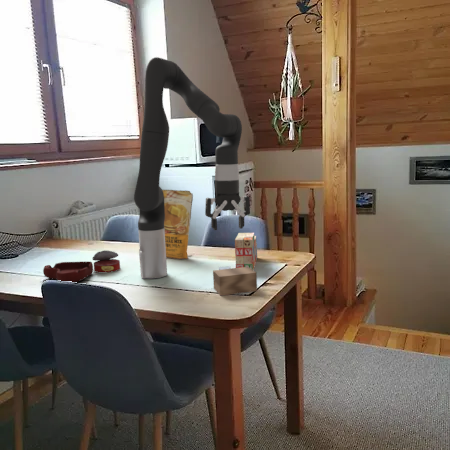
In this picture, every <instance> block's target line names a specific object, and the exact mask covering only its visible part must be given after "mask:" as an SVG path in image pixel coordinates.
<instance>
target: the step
mask: <svg viewBox="0 0 450 450" xmlns="http://www.w3.org/2000/svg"><path fill="white" fill-rule="evenodd" d="M212 275H213V277H212V278H213V289H214V290H215V291H216V293H218V295H220V296H228V295H235V294H243V293H244V294H245V293H252V292H257V291H258V283H257V282H258V281H257V279H258V277H257V271H255V270H252V269H251V268H250V267H241V268H236V267H235V268H234V267H233V268H231V269H223V270H219V269H216V270H215V269H214V270H212Z"/></svg>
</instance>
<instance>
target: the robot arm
mask: <svg viewBox="0 0 450 450" xmlns="http://www.w3.org/2000/svg"><path fill="white" fill-rule="evenodd" d="M144 77H145V78H144V107H143V108H144V109H143V120H142V127H141V136H140V137H141V138H140V150H139V168H138V174H137V175H138V176H137V181H136V185H135V189H134V194H133V200H134V203H135V206H136V207H137V208H138V210H139V218H138V221H137V229H138V230H137V231H138V247H139V249H138V253H139V267H140V269H139V270H140V276H141V279H160V278H164V277H166V276H168V266H167V265H168V264H167V257H166V246H165V230H164V221H165V205H164V194H163V191H162V190H163V189H162V187H161V186H160V179H161V178H160V177H161V176H160V175H161V171H162V167H163V163H164V161H165V158H166V154H167V150H168V145H169V140H170V139H169V137H170V125H169V120H168V117H167V115H166V111H165V107H164V103H163V101H164V99H163V98H164V90H165V89H166V90H170V91H172V92H175V93H176V94H177V95H179V96H180V97H181V98H182V100H183V101H184V103H185V105H186V106H187V108H188V109H189V110H190V111H191V112H192V113H193V114H194V115H196V116H197V117H198V118H199V119H200V120H201V121H202V123H203V124H204V125H205V127H206V128H207V129H208V131H209V132H210V133H211V134H213V135H214V136H216V137H217V138H222V141H221V142H222V143H221V144H220V145H218V146H217V147H216V148H215V153H214V154H215V157H214V158H215V167H214V168H215V169H214V170H215V171H214V179H215V181H214V183H215V185H214V186H215V187H214V188H215V196H214V197H206V198H205V208H204V209H205V210H204V211H205V212H204V213H205V216H206V217H207V218H211V219H210V221H211V222H210V223H211V224H210V225H211V228H212V229H213V231H218V219H217V217H218V216H219V214H220V213H222V211H224V212H227V211H234V212H235V211H236V212H237V214H238V228H239V229H243V228H244V227H245V217H246V216H247V215H248V216H249V215H250V214H251V205H250V197H249V196H248V195H243V196H241V195H240V169H239V164H238V163H239V156H238V154H239V153H238V150H239V146H240V143H241V142H240V141H241V137H242V134H243V124H242V121H241V119H240V118H239V116H237V115H236V114H231V113H230V114H228V113H222V112H221V111H220V109H221V108H220V106H219V104H218V103H217V102H216V101H214V100H213V99H212V98H211V97H210V96H209V95H208V94H206V93H204V91H202V90H201V89H200V88H199V87H197V86H196V85H195V84H194V83H193V81H192V80H191V79H190V78H189V77H188V76H187V75H186V74H185V72H184V71H183V70H182V68H180V66H179V65H178V64H177V63H176V62H174V61H171V60H168V59H165V58H162V57H159V56H158V57H157V56H156V57H152V58H151V59H150V60H149V61H148V62H147V65H146V68H145V74H144ZM240 202H242V203H243V209H244V210H242V208H241V207H240V206H239V203H240ZM214 203H215V204H216V206H215V207H214V210H213V211H212V205H213V204H214ZM211 212H212V213H211Z"/></svg>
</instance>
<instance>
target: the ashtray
mask: <svg viewBox="0 0 450 450" xmlns="http://www.w3.org/2000/svg"><path fill="white" fill-rule="evenodd" d="M42 272H43V276H44V277H46V278H48V279H49V280H51V279H53V280H57V281H58V280H61V281H72V282H74V283H79V282H81V281H83V280H84V279H86V278H88V277H89V276H91V275H93V272H94V263H93V262H92V261H61V262H56V263H55V264H54V265H53V267H52V266H51V265H50V264H47V265H45V266H44V267H43V269H42Z"/></svg>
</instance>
